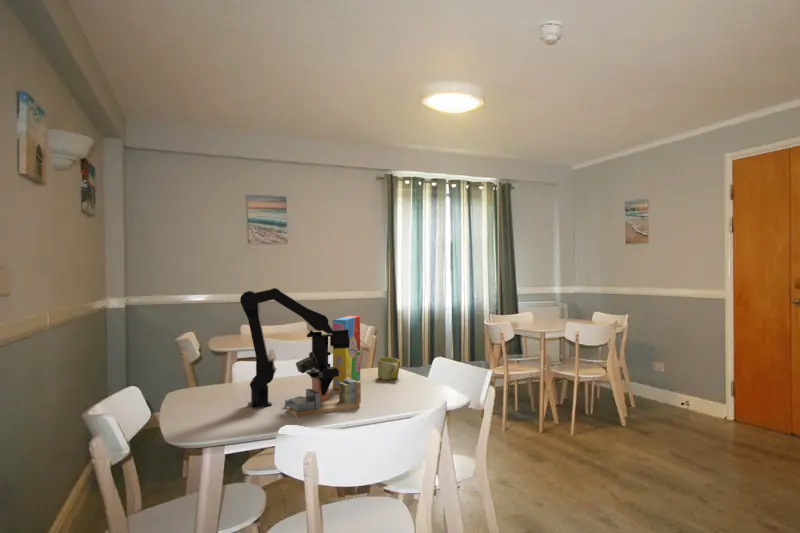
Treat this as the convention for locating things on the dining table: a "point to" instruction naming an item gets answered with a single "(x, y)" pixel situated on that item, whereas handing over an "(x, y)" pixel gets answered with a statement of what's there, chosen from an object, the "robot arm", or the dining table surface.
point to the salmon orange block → (319, 389)
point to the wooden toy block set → (337, 400)
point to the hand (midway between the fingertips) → (320, 393)
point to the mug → (388, 368)
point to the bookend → (306, 401)
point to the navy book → (289, 399)
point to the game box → (347, 351)
